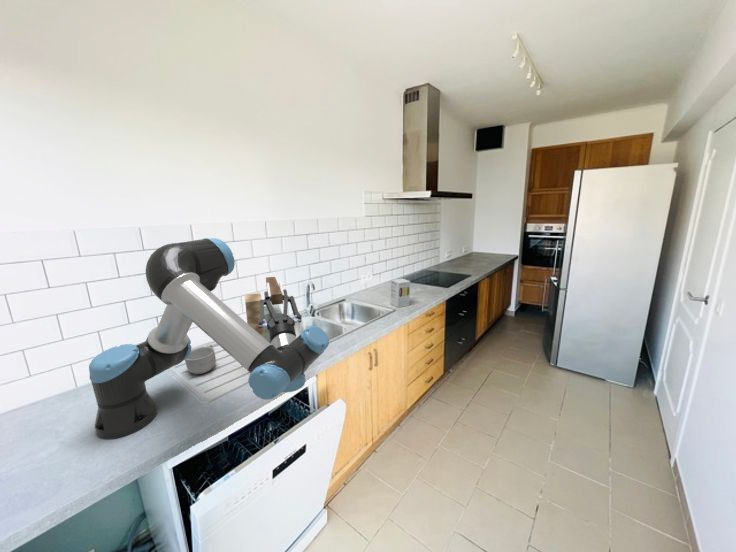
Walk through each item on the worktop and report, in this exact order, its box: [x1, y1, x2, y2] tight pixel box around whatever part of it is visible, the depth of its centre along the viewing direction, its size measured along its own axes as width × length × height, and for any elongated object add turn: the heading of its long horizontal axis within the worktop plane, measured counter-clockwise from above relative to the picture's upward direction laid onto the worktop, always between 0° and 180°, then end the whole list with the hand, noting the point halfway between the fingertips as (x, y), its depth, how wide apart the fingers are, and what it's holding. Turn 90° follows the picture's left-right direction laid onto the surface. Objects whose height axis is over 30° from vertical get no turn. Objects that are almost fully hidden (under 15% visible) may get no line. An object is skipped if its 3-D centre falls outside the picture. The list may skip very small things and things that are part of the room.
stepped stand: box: [244, 292, 283, 343], centre depth 123 cm, size 13×10×30 cm
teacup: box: [184, 344, 217, 375], centre depth 122 cm, size 14×11×8 cm
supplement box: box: [389, 278, 411, 308], centre depth 197 cm, size 10×9×17 cm
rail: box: [265, 276, 284, 305], centre depth 109 cm, size 4×24×4 cm, turn 22°
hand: (274, 285), depth 104 cm, fingers closed on rail, 3 cm apart
